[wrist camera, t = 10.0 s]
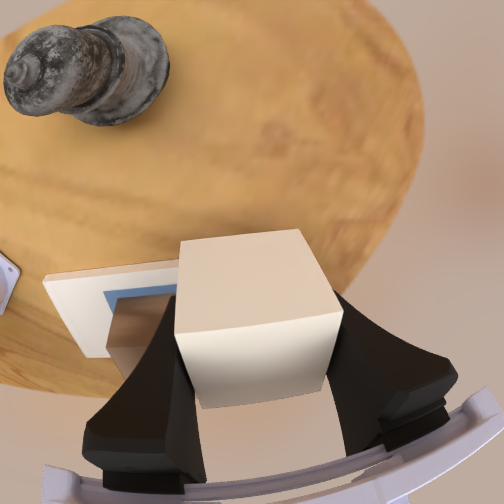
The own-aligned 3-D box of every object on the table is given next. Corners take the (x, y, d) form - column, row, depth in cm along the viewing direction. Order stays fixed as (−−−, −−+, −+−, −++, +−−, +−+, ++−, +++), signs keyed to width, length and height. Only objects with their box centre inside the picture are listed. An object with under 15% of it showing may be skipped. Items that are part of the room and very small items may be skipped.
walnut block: (135, 339, 24) (129, 385, 20) (117, 298, 21) (105, 347, 17) (189, 334, 24) (190, 383, 20) (178, 292, 22) (176, 343, 18)
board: (88, 350, 26) (86, 358, 25) (46, 274, 20) (41, 282, 19) (261, 336, 28) (263, 344, 27) (259, 249, 22) (262, 258, 21)
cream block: (198, 323, 15) (202, 409, 11) (180, 241, 12) (174, 333, 8) (292, 311, 15) (320, 390, 11) (298, 228, 13) (343, 311, 8)
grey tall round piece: (176, 110, 16) (130, 170, 6) (86, 124, 15) (-41, 206, 5) (175, 20, 12) (131, -70, 2) (81, 38, 11) (-57, 21, 2)
